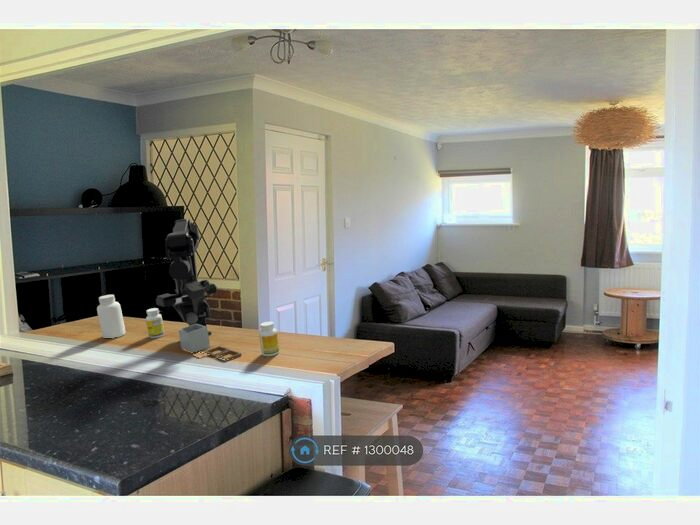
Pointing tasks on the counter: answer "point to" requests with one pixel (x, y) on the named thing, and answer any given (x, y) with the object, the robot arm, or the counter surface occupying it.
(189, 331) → the grey open box
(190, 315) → the gray ball
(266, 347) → the supplement bottle
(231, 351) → the holder
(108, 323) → the pill bottle
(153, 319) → the supplement bottle
